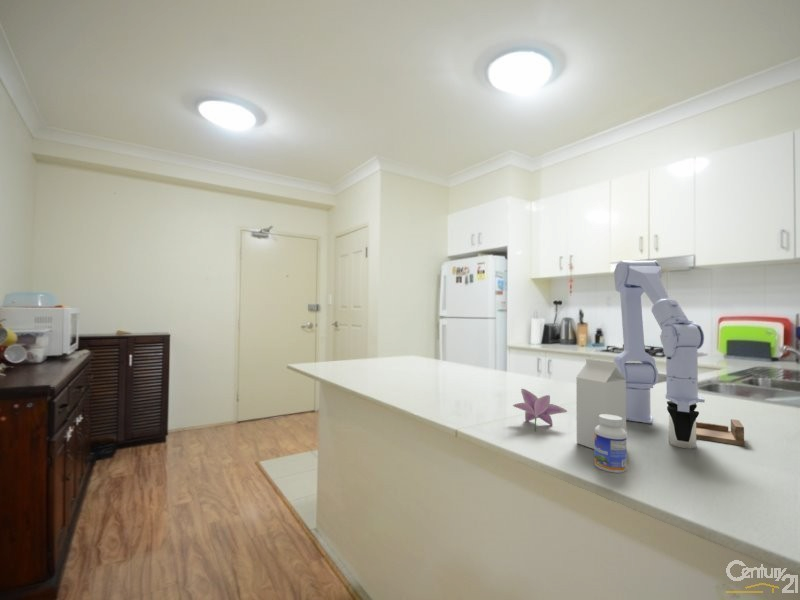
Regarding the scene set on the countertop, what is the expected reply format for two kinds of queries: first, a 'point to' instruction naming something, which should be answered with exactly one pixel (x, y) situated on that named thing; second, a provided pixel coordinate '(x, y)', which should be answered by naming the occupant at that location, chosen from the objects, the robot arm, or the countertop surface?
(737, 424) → the holder
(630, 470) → the countertop surface
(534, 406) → the lily
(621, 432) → the pill bottle
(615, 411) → the milk carton
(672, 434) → the paper roll
